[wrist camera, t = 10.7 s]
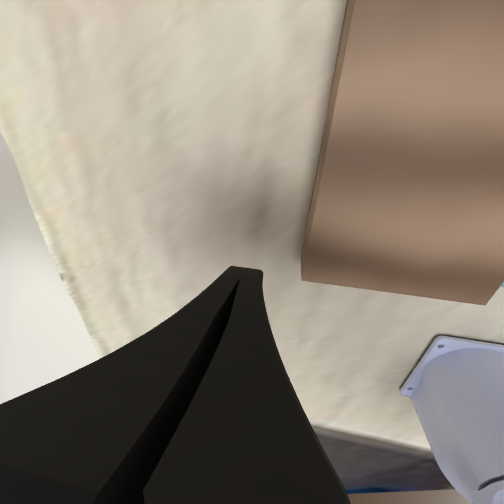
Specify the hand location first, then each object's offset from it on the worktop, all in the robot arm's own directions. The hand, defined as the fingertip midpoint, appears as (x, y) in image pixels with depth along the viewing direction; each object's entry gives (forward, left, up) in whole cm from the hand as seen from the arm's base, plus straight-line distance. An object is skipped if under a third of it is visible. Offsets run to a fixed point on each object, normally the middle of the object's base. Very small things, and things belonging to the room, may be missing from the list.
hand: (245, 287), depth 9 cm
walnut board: (+4, -9, -9) cm, 14 cm away
